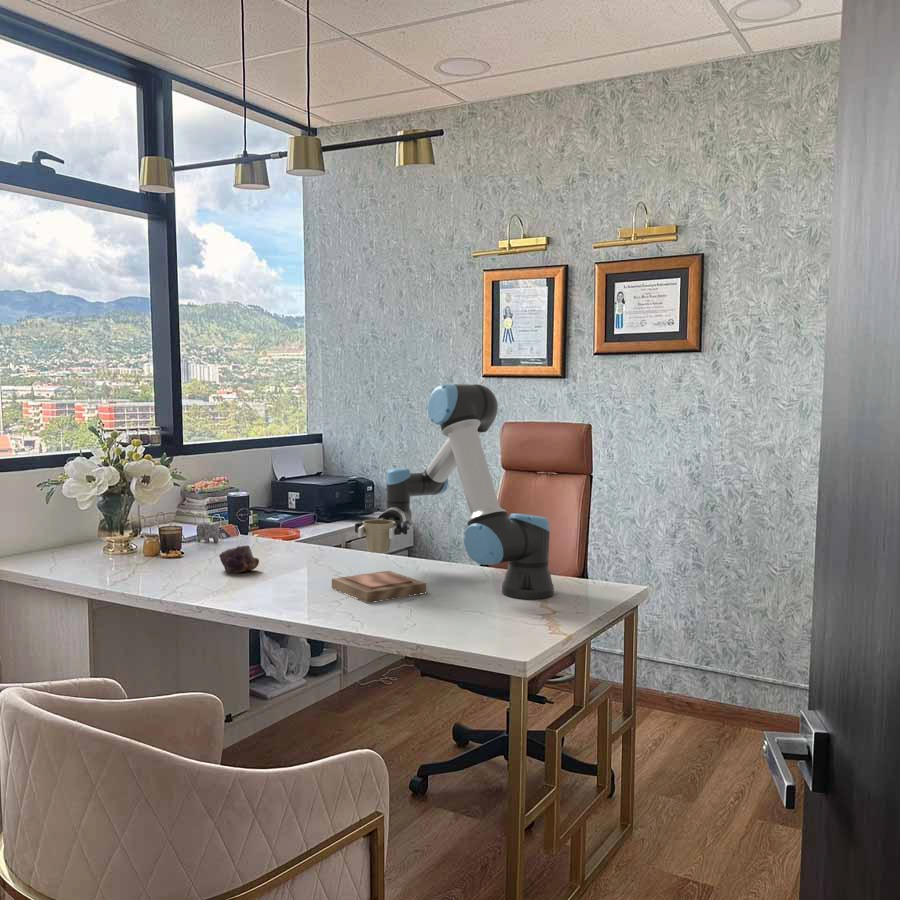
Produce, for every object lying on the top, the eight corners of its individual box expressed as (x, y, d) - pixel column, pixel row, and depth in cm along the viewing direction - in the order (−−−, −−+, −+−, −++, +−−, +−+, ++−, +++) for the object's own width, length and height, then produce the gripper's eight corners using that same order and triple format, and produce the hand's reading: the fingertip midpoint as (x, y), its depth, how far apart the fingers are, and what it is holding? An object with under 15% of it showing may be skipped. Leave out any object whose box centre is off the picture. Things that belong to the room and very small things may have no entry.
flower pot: (376, 546, 251) (376, 518, 250) (401, 550, 245) (401, 521, 245) (355, 551, 243) (355, 522, 242) (380, 555, 238) (381, 525, 237)
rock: (233, 571, 274) (213, 576, 264) (230, 545, 274) (210, 549, 264) (263, 569, 269) (244, 574, 260) (260, 542, 269) (240, 547, 260)
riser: (388, 580, 259) (389, 569, 258) (426, 593, 243) (426, 581, 243) (331, 588, 247) (331, 576, 247) (366, 603, 231) (367, 590, 231)
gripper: (424, 534, 260) (411, 547, 238) (358, 531, 263) (338, 544, 241) (425, 510, 260) (411, 521, 237) (358, 508, 263) (338, 519, 240)
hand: (374, 533), depth 239 cm, fingers closed on flower pot, 8 cm apart
